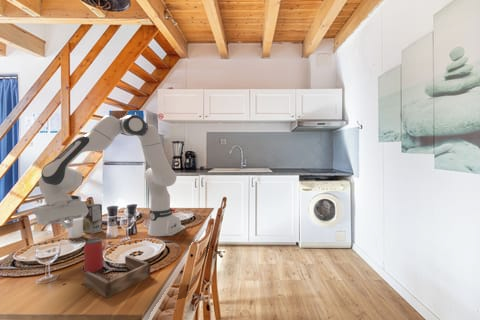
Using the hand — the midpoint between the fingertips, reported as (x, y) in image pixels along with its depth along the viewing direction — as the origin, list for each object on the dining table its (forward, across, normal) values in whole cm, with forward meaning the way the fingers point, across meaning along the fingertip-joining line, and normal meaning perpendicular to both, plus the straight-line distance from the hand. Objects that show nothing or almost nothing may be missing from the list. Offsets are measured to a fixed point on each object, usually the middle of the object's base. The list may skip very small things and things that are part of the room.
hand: (69, 227), depth 115 cm
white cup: (-10, +16, +30) cm, 36 cm away
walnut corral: (+36, 0, -16) cm, 39 cm away
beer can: (+24, 0, -4) cm, 24 cm away
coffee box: (-11, +26, +31) cm, 42 cm away
